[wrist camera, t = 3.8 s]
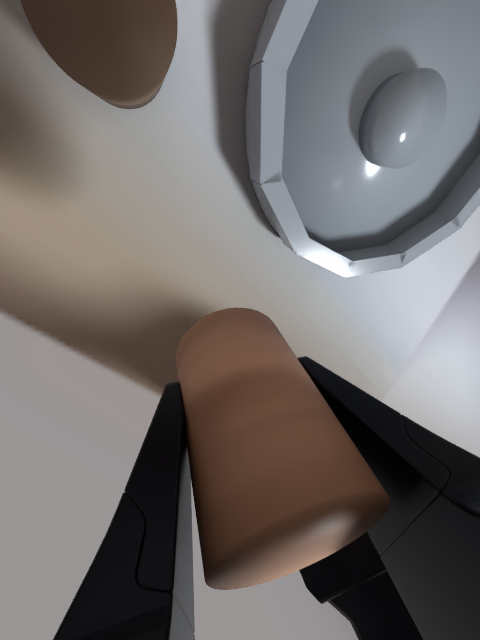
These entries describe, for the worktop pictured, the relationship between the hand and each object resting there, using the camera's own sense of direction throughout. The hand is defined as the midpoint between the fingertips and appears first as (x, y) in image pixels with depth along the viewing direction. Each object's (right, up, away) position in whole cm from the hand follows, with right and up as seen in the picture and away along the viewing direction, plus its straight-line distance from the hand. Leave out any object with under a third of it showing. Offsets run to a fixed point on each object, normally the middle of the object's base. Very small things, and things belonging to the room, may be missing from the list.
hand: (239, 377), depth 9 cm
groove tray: (+9, +14, +8) cm, 19 cm away
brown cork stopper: (0, +1, +1) cm, 1 cm away
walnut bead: (-5, +14, +3) cm, 15 cm away
